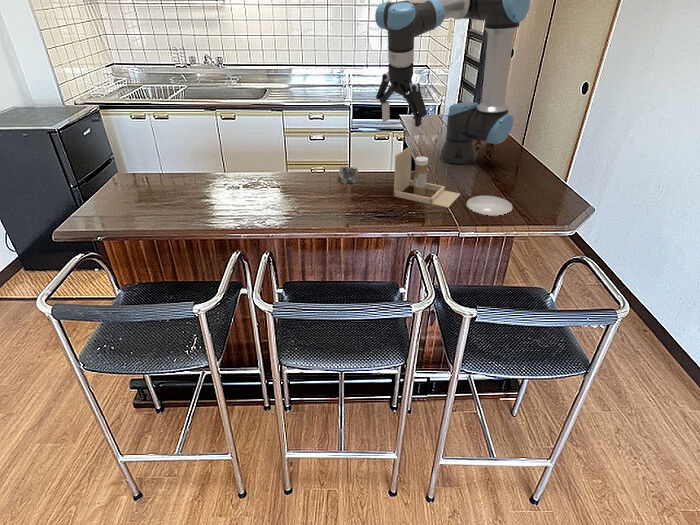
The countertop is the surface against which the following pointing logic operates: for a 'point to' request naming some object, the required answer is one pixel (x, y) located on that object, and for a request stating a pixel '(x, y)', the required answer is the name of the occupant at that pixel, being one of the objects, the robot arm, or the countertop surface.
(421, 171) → the spice jar
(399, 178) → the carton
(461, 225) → the countertop surface
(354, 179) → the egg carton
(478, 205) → the stone mat
